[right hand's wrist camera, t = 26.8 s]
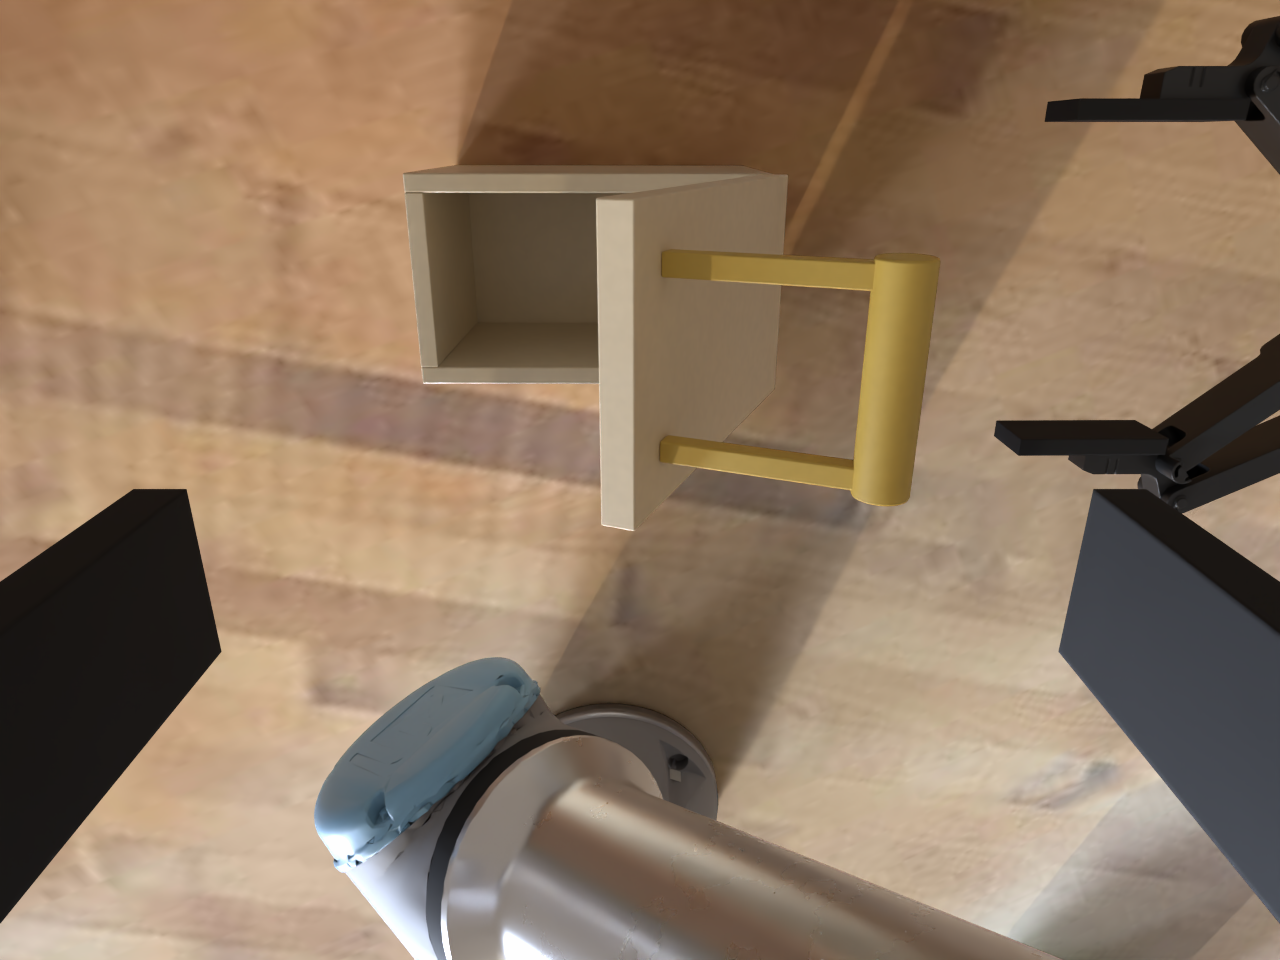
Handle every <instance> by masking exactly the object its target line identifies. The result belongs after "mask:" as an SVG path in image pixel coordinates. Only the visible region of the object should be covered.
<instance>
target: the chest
mask: <svg viewBox="0 0 1280 960" xmlns="http://www.w3.org/2000/svg"><path fill="white" fill-rule="evenodd" d="M761 174H771V173H768V172H764V171H761V170H757V169H754V168H750V167H746V166H679V165H454V166H447V167H440V168H434V169H427V170H421V171H414V172H407V173H403V181H404V191H405V192H406V193H405V203H406V213H407V224H408V234H409V245H410V255H411V265H412V276H413V286H414V296H415V307H416V317H417V328H418V338H419V348H420V359H421V366H422V378H423V383H476V384H599V347H598V288H597V228H596V199H597V198H598V197H605V196H612V195H619V194H626V193H633V192H640V191H648V190H655V189H662V188H669V187H676V186H683V185H690V184H697V183H704V182H711V181H719V180H726V179H733V178H740V177H747V176H754V175H761Z"/></svg>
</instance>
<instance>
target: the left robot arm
mask: <svg viewBox="0 0 1280 960" xmlns="http://www.w3.org/2000/svg"><path fill="white" fill-rule="evenodd" d="M1241 44H1242V49H1241V51H1240V53H1239V54H1238V56H1237V57H1236V59H1235V60H1234V61H1233V62H1232V63H1231V64H1229V65H1228V66H1177V67H1170V68H1163V69H1157V70H1155V71H1152V72H1150V73H1147V74H1145V75H1144V80H1143V85H1142V90H1141V95H1140V99H1071V100H1061V101H1051V102H1048V104H1047V111H1046V117H1045V122H1210V121H1235V122H1236V123H1237V124H1238V126H1239V127H1240V128H1241V129H1242V130H1243V132H1244V133H1245V134H1246V135H1247V136H1248V137H1249V139H1250V140H1251V141H1252V142H1253V143H1254V145H1255V146H1256V147H1257V148H1258V149H1259V151H1260V152H1261V153H1262V154H1263V155H1264V156H1265V158H1266V159H1267V160H1268V161H1269V162H1270V164H1271V165H1272V166H1273V167H1274V168H1275V170H1276V171H1277V172H1278V173H1279V174H1280V16H1277V17H1272V18H1267V19H1262V20H1257V21H1254V22H1253V23H1251V24H1249V25H1248V26H1247V28H1246V29H1245V30H1244V32H1243V34H1242V38H1241ZM1278 410H1280V334H1279V335H1277V336H1276V337H1275V338H1273V339H1272V340H1270V341H1269V342H1267V343H1266V344H1265V345H1263V346H1262V347H1261V349H1260V355H1259V356H1258V357H1257V358H1255V359H1254V360H1252V361H1251V362H1249V363H1248V364H1246V365H1245V366H1244V367H1242V368H1241V369H1239V370H1238V371H1236V372H1235V373H1233V374H1232V375H1230V376H1229V377H1228V378H1226V379H1225V380H1223V381H1222V382H1220V383H1219V384H1217V385H1216V386H1214V387H1213V388H1212V389H1210V390H1209V391H1207V392H1206V393H1204V394H1203V395H1201V396H1200V397H1198V398H1197V399H1195V400H1194V401H1193V402H1191V403H1190V404H1188V405H1187V406H1185V407H1184V408H1182V409H1181V410H1179V411H1178V412H1177V413H1175V414H1174V415H1172V416H1171V417H1169V418H1168V419H1166V420H1165V421H1163V422H1162V423H1161V424H1159V425H1158V426H1156V427H1155V428H1153V429H1150V428H1148V427H1147V426H1145V425H1143V424H1141V423H1139V422H1137V421H1136V420H1044V421H996V427H995V434H994V436H995V437H996V438H997V439H999V440H1000V441H1001V442H1002V443H1004V444H1005V445H1006V446H1007V447H1009V448H1010V449H1011V450H1012V451H1014V452H1015V453H1016V454H1017V455H1019V456H1032V455H1069V458H1068V460H1070V461H1071V462H1073V463H1074V464H1075V465H1077V466H1078V467H1079V468H1081V469H1082V470H1084V471H1087V472H1089V473H1092V474H1141V477H1140V479H1139V481H1138V489H1147V490H1148V491H1150V492H1151V493H1153V494H1154V495H1156V496H1157V497H1158V498H1160V499H1161V500H1163V501H1164V502H1166V503H1167V504H1168V505H1170V506H1171V507H1173V508H1174V509H1176V510H1177V511H1179V512H1180V513H1181V514H1182V513H1185V512H1187V511H1190V510H1192V509H1194V508H1197V507H1199V506H1202V505H1204V504H1206V503H1209V502H1211V501H1214V500H1216V499H1218V498H1221V497H1223V496H1226V495H1228V494H1230V493H1233V492H1235V491H1238V490H1240V489H1242V488H1245V487H1247V486H1250V485H1252V484H1254V483H1257V482H1259V481H1262V480H1264V479H1266V478H1269V477H1271V476H1274V475H1276V474H1278V473H1280V416H1278V417H1275V418H1273V419H1271V420H1268V421H1266V422H1264V423H1261V424H1259V423H1260V422H1262V421H1263V420H1265V419H1266V418H1268V417H1269V416H1271V415H1272V414H1274V413H1275V412H1277V411H1278ZM1257 424H1259V425H1257ZM1256 425H1257V426H1256ZM717 810H718V793H717V784H716V777H715V772H714V768H713V765H712V763H711V760H710V758H709V756H708V754H707V752H706V751H705V749H704V748H703V746H702V745H701V744H700V742H699V741H698V740H697V739H696V738H695V737H694V736H693V735H692V734H691V733H690V732H689V731H688V730H687V729H685V728H684V727H683V726H681V725H680V724H679V723H677V722H675V721H674V720H672V719H670V718H668V717H666V716H664V715H662V714H660V713H657V712H655V711H652V710H649V709H646V708H642V707H637V706H633V705H625V704H595V705H588V706H583V707H578V708H575V709H571V710H568V711H566V712H563V713H561V714H558V715H556V716H554V714H553V713H552V712H551V711H550V710H549V708H548V707H547V705H546V703H545V702H544V700H543V699H542V697H541V695H540V688H539V686H538V684H537V682H536V681H535V680H532V679H531V678H530V677H529V676H528V675H527V673H526V672H525V671H524V670H523V668H522V667H521V666H520V665H518V664H517V663H516V662H514V661H512V660H510V659H506V658H501V657H495V658H484V659H480V660H476V661H472V662H470V663H467V664H464V665H462V666H459V667H457V668H455V669H452V670H450V671H448V672H446V673H444V674H443V675H441V676H439V677H438V678H436V679H434V680H432V681H430V682H428V683H427V684H425V685H423V686H422V687H420V688H419V689H417V690H416V691H414V692H413V693H411V694H410V695H409V696H407V697H406V698H405V699H403V700H402V701H400V702H399V703H398V704H396V705H395V706H394V707H393V708H391V709H390V710H389V711H387V712H386V713H385V714H384V715H383V716H382V717H380V718H379V719H378V720H377V721H376V722H375V723H374V724H372V725H371V726H370V727H369V728H368V729H367V730H366V731H365V732H364V733H363V734H362V735H361V736H360V737H359V738H358V739H357V740H356V741H355V742H354V743H353V744H352V745H351V746H350V748H349V749H348V750H347V751H346V752H345V753H344V755H343V756H342V757H341V758H340V760H339V761H338V762H337V764H336V765H335V767H334V769H333V770H332V772H331V773H330V774H329V775H328V777H327V779H326V780H325V782H324V784H323V786H322V788H321V791H320V793H319V795H318V798H317V801H316V806H315V812H314V819H315V826H316V829H317V832H318V834H319V836H320V837H321V839H322V840H323V842H324V843H325V845H326V846H327V848H328V849H329V851H330V852H331V854H332V855H333V857H334V866H335V867H336V868H337V869H338V870H339V871H340V872H345V873H346V874H347V875H348V876H349V878H350V879H351V880H352V881H353V883H354V884H355V885H356V886H357V888H358V889H359V890H360V891H361V893H362V894H363V895H364V896H365V898H366V899H367V900H368V901H369V903H370V904H371V905H372V906H373V908H374V909H375V910H376V911H377V913H378V914H379V915H380V916H381V918H382V919H383V920H384V921H385V922H386V924H387V925H388V926H389V927H390V929H391V930H392V931H393V932H394V934H395V935H396V936H397V937H398V939H399V940H400V941H401V942H402V944H403V945H404V946H405V947H406V949H407V950H408V951H409V952H410V954H411V955H412V956H413V957H414V959H415V960H1063V959H1060V958H1058V957H1055V956H1053V955H1050V954H1048V953H1045V952H1043V951H1040V950H1038V949H1035V948H1033V947H1030V946H1028V945H1025V944H1023V943H1020V942H1018V941H1015V940H1013V939H1010V938H1008V937H1005V936H1003V935H1000V934H998V933H995V932H993V931H990V930H988V929H985V928H983V927H980V926H978V925H975V924H973V923H970V922H968V921H965V920H963V919H960V918H958V917H955V916H953V915H950V914H948V913H945V912H943V911H940V910H938V909H935V908H933V907H930V906H928V905H925V904H923V903H920V902H918V901H915V900H913V899H910V898H908V897H905V896H903V895H900V894H898V893H895V892H893V891H890V890H888V889H885V888H883V887H880V886H878V885H875V884H873V883H870V882H868V881H865V880H863V879H860V878H858V877H855V876H853V875H850V874H848V873H845V872H843V871H840V870H838V869H835V868H833V867H830V866H828V865H825V864H823V863H820V862H818V861H815V860H813V859H810V858H808V857H805V856H803V855H800V854H798V853H795V852H793V851H790V850H788V849H786V848H783V847H781V846H778V845H776V844H773V843H771V842H768V841H766V840H763V839H761V838H758V837H756V836H753V835H751V834H748V833H746V832H743V831H741V830H738V829H736V828H733V827H731V826H728V825H726V824H723V823H721V822H718V821H716V818H717Z"/></svg>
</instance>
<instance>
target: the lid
mask: <svg viewBox="0 0 1280 960" xmlns="http://www.w3.org/2000/svg"><path fill="white" fill-rule="evenodd" d="M787 188H788V175H787V174H761V175H754V176H747V177H740V178H733V179H726V180H719V181H711V182H704V183H697V184H690V185H683V186H676V187H669V188H662V189H655V190H648V191H640V192H633V193H626V194H619V195H612V196H605V197H598V198H597V199H596V228H597V288H598V347H599V407H600V466H601V524H602V525H603V526H608V527H614V528H619V529H625V530H631V531H635V530H636V529H637V528H638V527H639V526H640V525H641V524H642V523H643V522H644V521H645V520H646V519H647V518H648V517H649V516H650V515H651V514H652V513H653V512H654V511H655V510H656V509H657V508H658V507H659V506H660V505H661V504H662V503H663V502H664V501H665V500H666V499H667V498H668V497H669V496H670V495H671V494H672V493H673V492H674V491H675V490H676V489H677V488H678V487H679V486H680V485H681V484H682V482H683V481H684V480H685V479H686V478H687V477H688V476H689V475H690V474H691V473H692V472H693V471H694V470H695V469H696V468H703V469H710V470H717V471H723V472H730V473H737V474H744V475H750V476H757V477H764V478H771V479H778V480H784V481H791V482H798V483H805V484H811V485H818V486H825V487H832V488H839V489H845V490H850V491H851V494H852V496H853V497H854V498H855V499H857V500H859V501H861V502H864V503H867V504H871V505H877V506H897V505H901V504H904V503H906V502H907V501H908V500H909V498H910V491H911V483H912V476H913V468H914V460H915V453H916V445H917V437H918V430H919V422H920V414H921V407H922V399H923V391H924V383H925V376H926V368H927V360H928V353H929V345H930V337H931V330H932V322H933V314H934V307H935V299H936V291H937V284H938V276H939V268H940V259H939V258H938V257H935V256H931V255H925V254H914V253H886V254H880V255H877V256H875V258H874V260H873V259H854V258H835V257H815V256H796V255H783V252H784V236H785V220H786V204H787ZM781 285H788V286H804V287H819V288H835V289H850V290H866V291H871V292H870V302H869V312H868V322H867V332H866V342H865V352H864V361H863V371H862V381H861V391H860V401H859V411H858V420H857V430H856V440H855V450H854V460H849V459H842V458H834V457H827V456H820V455H812V454H805V453H797V452H790V451H783V450H775V449H768V448H760V447H753V446H746V445H738V444H731V443H723V441H724V440H725V439H726V438H727V437H728V436H729V435H730V434H731V433H732V432H733V431H734V430H735V429H736V428H737V427H738V426H739V425H740V424H741V423H742V422H743V421H744V420H745V419H746V418H747V417H748V416H749V415H750V414H751V413H752V412H753V410H754V409H755V408H756V407H757V406H758V405H759V404H760V403H761V402H762V401H763V400H764V399H765V398H766V397H767V396H768V395H769V394H770V393H771V392H772V391H773V390H774V389H775V379H776V363H777V347H778V331H779V315H780V299H781Z"/></svg>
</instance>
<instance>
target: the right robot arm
mask: <svg viewBox="0 0 1280 960" xmlns="http://www.w3.org/2000/svg"><path fill="white" fill-rule="evenodd" d="M220 653H221V648H220V643H219V638H218V634H217V629H216V624H215V620H214V615H213V610H212V606H211V601H210V596H209V592H208V587H207V582H206V578H205V573H204V569H203V564H202V559H201V555H200V550H199V545H198V541H197V536H196V531H195V527H194V522H193V517H192V513H191V508H190V503H189V499H188V494H187V489H133V490H132V491H130V492H129V493H127V494H126V495H124V496H123V497H122V498H120V499H119V500H117V501H116V502H114V503H113V504H112V505H110V506H109V507H107V508H106V509H104V510H103V511H101V512H100V513H99V514H97V515H96V516H94V517H93V518H91V519H90V520H88V521H87V522H86V523H84V524H83V525H81V526H80V527H78V528H77V529H76V530H74V531H73V532H71V533H70V534H68V535H67V536H65V537H64V538H63V539H61V540H60V541H58V542H57V543H55V544H54V545H53V546H51V547H50V548H48V549H47V550H45V551H44V552H42V553H41V554H40V555H38V556H37V557H35V558H34V559H32V560H31V561H30V562H28V563H27V564H25V565H24V566H22V567H21V568H19V569H18V570H17V571H15V572H14V573H12V574H11V575H9V576H8V577H7V578H5V579H4V580H2V581H1V582H0V923H1V922H2V921H3V920H4V918H5V917H6V916H7V915H8V913H9V912H10V911H11V910H12V908H13V907H14V906H15V905H16V904H17V902H18V901H19V900H20V899H21V897H22V896H23V895H24V894H25V892H26V891H27V890H28V889H29V888H30V886H31V885H32V884H33V883H34V881H35V880H36V879H37V878H38V876H39V875H40V874H41V873H42V872H43V870H44V869H45V868H46V867H47V865H48V864H49V863H50V862H51V860H52V859H53V858H54V857H55V856H56V854H57V853H58V852H59V851H60V849H61V848H62V847H63V846H64V845H65V843H66V842H67V841H68V840H69V838H70V837H71V836H72V835H73V833H74V832H75V831H76V830H77V829H78V827H79V826H80V825H81V824H82V822H83V821H84V820H85V819H86V817H87V816H88V815H89V814H90V813H91V811H92V810H93V809H94V808H95V806H96V805H97V804H98V803H99V801H100V800H101V799H102V798H103V797H104V795H105V794H106V793H107V792H108V790H109V789H110V788H111V787H112V786H113V784H114V783H115V782H116V781H117V779H118V778H119V777H120V776H121V774H122V773H123V772H124V771H125V770H126V768H127V767H128V766H129V765H130V763H131V762H132V761H133V760H134V758H135V757H136V756H137V755H138V754H139V752H140V751H141V750H142V749H143V747H144V746H145V745H146V744H147V742H148V741H149V740H150V739H151V738H152V736H153V735H154V734H155V733H156V731H157V730H158V729H159V728H160V726H161V725H162V724H163V723H164V722H165V720H166V719H167V718H168V717H169V715H170V714H171V713H172V712H173V711H174V709H175V708H176V707H177V706H178V704H179V703H180V702H181V701H182V699H183V698H184V697H185V696H186V695H187V693H188V692H189V691H190V690H191V688H192V687H193V686H194V685H195V683H196V682H197V681H198V680H199V679H200V677H201V676H202V675H203V674H204V672H205V671H206V670H207V669H208V667H209V666H210V665H211V664H212V663H213V661H214V660H215V659H216V658H217V656H218V655H219V654H220ZM1059 653H1060V654H1061V655H1062V656H1063V658H1064V659H1065V660H1066V661H1067V663H1068V664H1069V665H1070V666H1071V667H1072V669H1073V670H1074V671H1075V672H1076V674H1077V675H1078V676H1079V677H1080V679H1081V680H1082V681H1083V682H1084V683H1085V685H1086V686H1087V687H1088V688H1089V690H1090V691H1091V692H1092V693H1093V695H1094V696H1095V697H1096V698H1097V699H1098V701H1099V702H1100V703H1101V704H1102V706H1103V707H1104V708H1105V709H1106V711H1107V712H1108V713H1109V714H1110V715H1111V717H1112V718H1113V719H1114V720H1115V722H1116V723H1117V724H1118V725H1119V726H1120V728H1121V729H1122V730H1123V731H1124V733H1125V734H1126V735H1127V736H1128V738H1129V739H1130V740H1131V741H1132V742H1133V744H1134V745H1135V746H1136V747H1137V749H1138V750H1139V751H1140V752H1141V754H1142V755H1143V756H1144V757H1145V758H1146V760H1147V761H1148V762H1149V763H1150V765H1151V766H1152V767H1153V768H1154V770H1155V771H1156V772H1157V773H1158V774H1159V776H1160V777H1161V778H1162V779H1163V781H1164V782H1165V783H1166V784H1167V786H1168V787H1169V788H1170V789H1171V790H1172V792H1173V793H1174V794H1175V795H1176V797H1177V798H1178V799H1179V800H1180V801H1181V803H1182V804H1183V805H1184V806H1185V808H1186V809H1187V810H1188V811H1189V813H1190V814H1191V815H1192V816H1193V817H1194V819H1195V820H1196V821H1197V822H1198V824H1199V825H1200V826H1201V827H1202V829H1203V830H1204V831H1205V832H1206V833H1207V835H1208V836H1209V837H1210V838H1211V840H1212V841H1213V842H1214V843H1215V845H1216V846H1217V847H1218V848H1219V849H1220V851H1221V852H1222V853H1223V854H1224V856H1225V857H1226V858H1227V859H1228V860H1229V862H1230V863H1231V864H1232V865H1233V867H1234V868H1235V869H1236V870H1237V872H1238V873H1239V874H1240V875H1241V876H1242V878H1243V879H1244V880H1245V881H1246V883H1247V884H1248V885H1249V886H1250V888H1251V889H1252V890H1253V891H1254V892H1255V894H1256V895H1257V896H1258V897H1259V899H1260V900H1261V901H1262V902H1263V904H1264V905H1265V906H1266V907H1267V908H1268V910H1269V911H1270V912H1271V913H1272V915H1273V916H1274V917H1275V918H1276V920H1277V921H1278V922H1279V923H1280V582H1279V581H1278V580H1276V579H1275V578H1273V577H1272V576H1271V575H1269V574H1268V573H1266V572H1265V571H1263V570H1262V569H1261V568H1259V567H1258V566H1256V565H1255V564H1253V563H1252V562H1250V561H1249V560H1248V559H1246V558H1245V557H1243V556H1242V555H1240V554H1239V553H1238V552H1236V551H1235V550H1233V549H1232V548H1230V547H1229V546H1227V545H1226V544H1225V543H1223V542H1222V541H1220V540H1219V539H1217V538H1216V537H1215V536H1213V535H1212V534H1210V533H1209V532H1207V531H1206V530H1204V529H1203V528H1202V527H1200V526H1199V525H1197V524H1196V523H1194V522H1193V521H1192V520H1190V519H1189V518H1187V517H1186V516H1184V515H1183V514H1181V513H1180V512H1179V511H1177V510H1176V509H1174V508H1173V507H1171V506H1170V505H1168V504H1167V503H1166V502H1164V501H1163V500H1161V499H1160V498H1158V497H1157V496H1156V495H1154V494H1153V493H1151V492H1150V491H1148V490H1147V489H1093V494H1092V499H1091V503H1090V508H1089V513H1088V517H1087V522H1086V527H1085V531H1084V536H1083V541H1082V545H1081V550H1080V555H1079V559H1078V564H1077V569H1076V573H1075V578H1074V582H1073V587H1072V592H1071V596H1070V601H1069V606H1068V610H1067V615H1066V620H1065V624H1064V629H1063V634H1062V638H1061V643H1060V648H1059Z"/></svg>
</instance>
